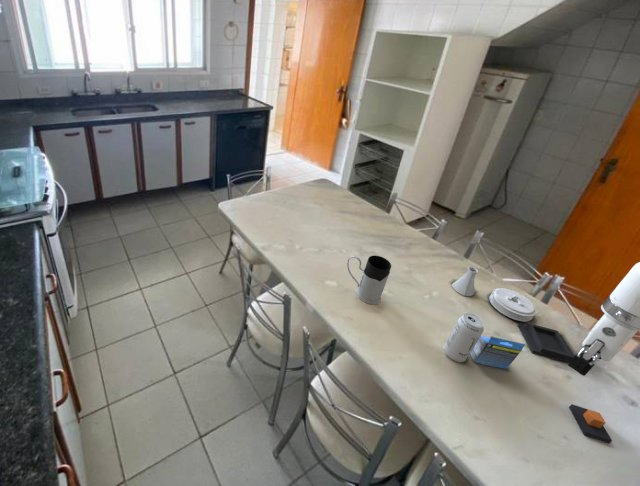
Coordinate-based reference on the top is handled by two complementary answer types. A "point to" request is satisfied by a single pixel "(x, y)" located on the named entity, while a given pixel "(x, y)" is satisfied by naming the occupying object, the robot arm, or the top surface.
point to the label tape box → (496, 351)
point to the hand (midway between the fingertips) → (584, 361)
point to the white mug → (372, 279)
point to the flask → (466, 282)
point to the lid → (512, 304)
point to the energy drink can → (464, 337)
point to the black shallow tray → (546, 342)
